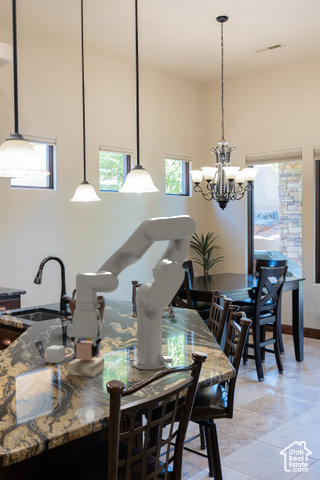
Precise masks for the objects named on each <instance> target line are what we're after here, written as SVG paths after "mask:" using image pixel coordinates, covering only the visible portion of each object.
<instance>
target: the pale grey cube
mask: <svg viewBox="0 0 320 480" xmlns="http://www.w3.org/2000/svg"><path fill="white" fill-rule="evenodd" d="M65 359H66V346H65V345H54V344H52V345H51V346H49V347H48V346H47V347H46V348H45V362H46V363H53V364H60V363H61V362H63V361H65Z"/></svg>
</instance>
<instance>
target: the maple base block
mask: <svg viewBox="0 0 320 480" xmlns="http://www.w3.org/2000/svg"><path fill="white" fill-rule="evenodd" d="M104 369H105V358H103V357H97V358H95V357H94V358H93V359H91V360H82V359H76V358H75V359H72V360H71V361H70V362H67V375H73V376H80V377H81V376H83V377H95V376H96V375H98V374H100V373H101V372H102V371H103V370H104Z"/></svg>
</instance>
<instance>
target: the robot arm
mask: <svg viewBox="0 0 320 480" xmlns="http://www.w3.org/2000/svg"><path fill="white" fill-rule="evenodd" d="M196 231H197V222H196V221H195V219H194V218H193V217H191V216H190V215H175V216H170V217H154V218H152V217H151V218H146V219H144V220H143V221H141V223H140V224H139V226H138V227H136V229H134V231H133V233H131V235H130V236H129V237H128V239H126V241H124V243H123V244H122V245H121V246H120V247H119V248H118V249H117V250H116V251H115V252H114V253H113V254H112V255H110V257H108V259H106V261H105V262H104V263H103V264H102V265H101V266H100V268H99V269H98V270H97V271H96V273H94V272H79V273H77V274H76V275H75V299H76V310H75V311H74V315H73V320H72V326H71V328H70V330H68V332H66V335H67V336H68V337H69V339H70V340H71V341H72V342H73V346H74V345H75V353H76V344H77V343H79V342H80V340H81V338H91V339H92V342H93V346H92V357H95V356H96V355H97V354H98V344H99V343H101V342H102V341H103V340H104V339H105V338H107V334H106V333H105V332H104V331H103V329H102V324H101V319H100V313H99V310H97V308H99V307H100V304H97V296H98V295H97V294H98V293H106V294H109V293H113V292H115V291H116V290H117V289H118V288H119V284H120V283H119V278H118V276H120V275H121V273H122V272H123V271H124V270H125V269H127V268H128V267H130V266H132V265H134V264H136V263H137V262H139V261H140V260H141V259H142V258H143V256H144V255H145V254H146V253H147V252H148V251H149V249H150V248H151V247H152V246H153V244H155V243H156V242H160V241H161V242H163V241H164V242H165V241H169V242H168V245H167V247H166V248H165V251H164V252H163V254H162V255H161V256H160V258H159V260H158V261H157V263H156V264H155V265H154V268H153V269H152V277H153V279H154V281H153V283H151V282H147V283H143V284H141V285H140V286H139V287H138V288H137V290H136V293H135V305H136V306H135V307H136V318H137V319H136V320H137V321H136V340H137V341H136V349H137V350H136V351H137V352H136V355H137V357H136V360H134V361H133V363H132V366H133V367H134V368H136V369H140V370H149V371H150V370H151V371H152V370H159V369H162V368H165V367H166V365H167V364H172V363H173V357H171V356H166V355H165V353H164V352H162V351H163V344H162V343H163V340H162V339H163V336H162V334H163V316H162V311H164V310H165V309H166V308H168V306H169V305H170V304H171V303H172V300H173V299H174V297H175V295H177V292H178V290H180V288H181V286H182V284H183V282H184V280H185V274H186V271H185V269H184V267H183V264H184V262H185V261H186V259H187V257H188V255H189V253H190V250H191V249H190V247H191V244H190V240H191V239H190V238H191V237H192V236H194V234H195V233H196ZM97 336H100V338H99V339H98V337H97Z"/></svg>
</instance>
